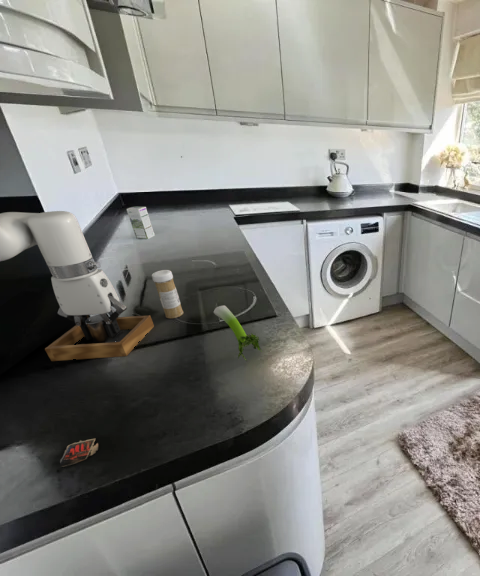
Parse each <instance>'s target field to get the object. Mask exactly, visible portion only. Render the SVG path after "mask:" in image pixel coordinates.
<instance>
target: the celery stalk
mask: <svg viewBox="0 0 480 576" xmlns="http://www.w3.org/2000/svg"><path fill="white" fill-rule="evenodd" d="M213 314H214V315H215V316H217V317H218V318H220V319H221V320H223V322H225V323H226V324H227V325H228V327H229V328H230V330H231V331H232V332H233V333H234V336H235V338H236V340H237V343H238V344H237V345H238V351H239V352H238V355H237V360H240V357H241V356H242V358H243V359H244V360H245V361H246V362H248V360H247V359H246V357H245V355H244V354H243V352H244V350H245V349H244V348H246V347H248V346H250V345H252V348H253V349H254V350H258V351H260V352H261V353H262V352H263V351H262V349H261V346H260V343H259V341H261V340H260V339H259V338H260V337H259V336H257V335H256V334H253V333H252V332H251V333H250V334H247V333H246V332H245V330H244V328H243V326H242V325H241V323H240V322H239V320H238V318H237V317H236V316H235V315H234V314H233V312H232V311H231V310H230V309H229V308H228V307H227V306H226V305H219V306H217V307H215V308H214V311H213Z"/></svg>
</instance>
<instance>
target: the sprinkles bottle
mask: <svg viewBox="0 0 480 576" xmlns="http://www.w3.org/2000/svg"><path fill="white" fill-rule="evenodd" d="M151 278H152V281H153V282H154V285H155V288H156V290H157V294H158V296H159V300H160V303H161V306H162V307H161V308H162V309H163V312H164V314H165V315H164V316H165V318H167V319H169V320H170V319H177V318H179V317H181V316H183V315H184V310H183V308H182V305H181V300H180V296H179V293H178V290H177V287H176V284H175V282H174V275H173V272H172V271H171V270H170V269H162V270H157V271H154V272H152V274H151Z"/></svg>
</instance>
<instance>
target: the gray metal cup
mask: <svg viewBox="0 0 480 576" xmlns="http://www.w3.org/2000/svg"><path fill="white" fill-rule="evenodd" d="M85 324H86V326H87V328H88V330H89V332H90V335H91V337H92V338H91V340H92V341H93V344H96V343H112V342H115V341H117V342H118V340H119V338H118V335H116V336H115V337H114V338H110V337H109V335H108V333H107V331H106V328H105V324H107V323H106V322H105V321H104V320H103V318H102V317H101V316H100V314H94V315H92V316H89V318H88V319H86V320H85ZM117 339H118V340H117Z"/></svg>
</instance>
